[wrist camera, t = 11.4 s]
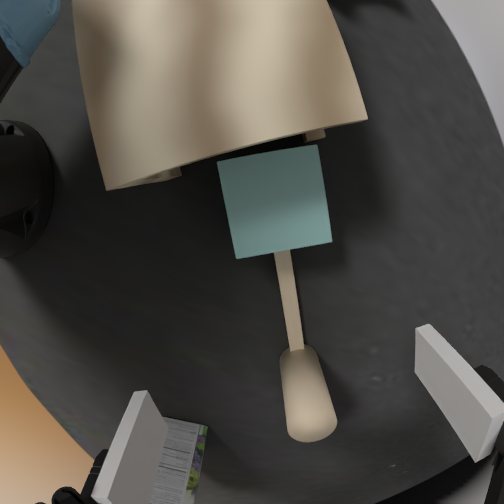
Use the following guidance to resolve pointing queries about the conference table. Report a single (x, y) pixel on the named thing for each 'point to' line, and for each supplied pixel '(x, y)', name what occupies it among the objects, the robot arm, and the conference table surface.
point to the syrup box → (179, 463)
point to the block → (284, 261)
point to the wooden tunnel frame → (207, 79)
